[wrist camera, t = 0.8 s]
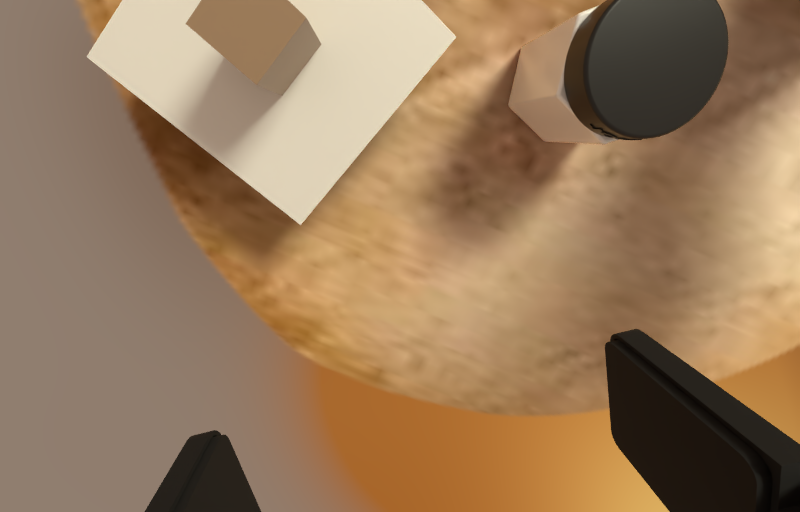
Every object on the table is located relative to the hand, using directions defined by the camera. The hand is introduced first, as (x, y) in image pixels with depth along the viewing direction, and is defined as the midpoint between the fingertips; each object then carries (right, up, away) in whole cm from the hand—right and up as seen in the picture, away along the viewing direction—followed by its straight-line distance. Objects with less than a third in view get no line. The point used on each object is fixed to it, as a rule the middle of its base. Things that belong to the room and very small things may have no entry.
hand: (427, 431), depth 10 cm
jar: (+12, +18, +23) cm, 32 cm away
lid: (-8, +18, +16) cm, 25 cm away
